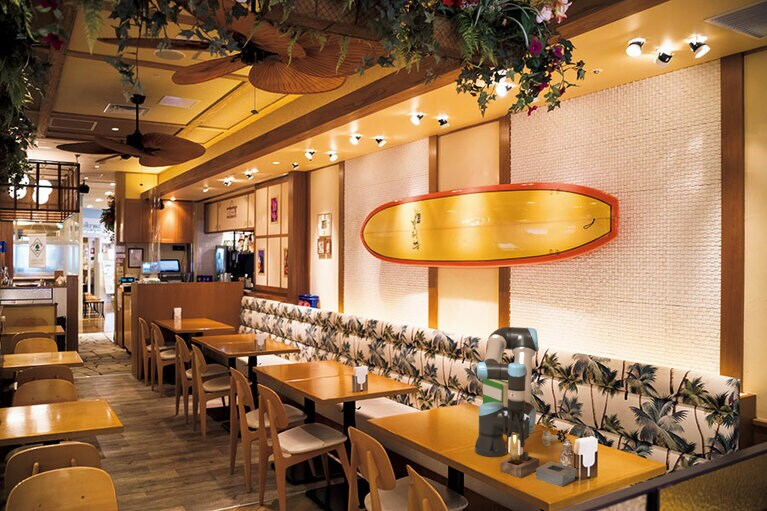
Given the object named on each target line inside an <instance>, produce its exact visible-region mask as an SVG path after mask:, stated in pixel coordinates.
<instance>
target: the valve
mask: <svg viewBox="0 0 767 511" xmlns="http://www.w3.org/2000/svg"><path fill="white" fill-rule="evenodd" d="M542 434H543V435H542V436H541V438H542V445H543V446H545V447H546V446H548V447H549V446H551V441H555V440H558V441H559V442H560V443H561V444H562V443H563V444H564V442H565V441H566V440H568V439H567V438H568V437H567V436H566V434H567V433H566V432H565V431H564V430H563V429H558V430H557V433H556V434H555V435H554V434H551V431H550V430H543V431H542Z"/></svg>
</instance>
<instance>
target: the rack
mask: <svg viewBox="0 0 767 511" xmlns="http://www.w3.org/2000/svg"><path fill="white" fill-rule="evenodd" d="M538 467H540V458H539V457H538V458H537V457H534V456H530V455H529V452H528V451H525V450H523V454H521V455H520V465H518V466H517V465H514V464H511V456H510V457H508V458H506V459H504V460H501V461H500V470H499V472H500V471H501V472H500V473H502V472H504V473H503V474H505V473H507V474H506V475H508V474H510V475H509V476H512V475H513V476H512V477H515V476H516V477H515V478H518V477H519V478H518V479H522V478H524V477H526V476H528V475H529V474H532V473H534V472H536V468H538ZM521 477H522V478H521Z"/></svg>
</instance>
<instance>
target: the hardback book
mask: <svg viewBox="0 0 767 511" xmlns="http://www.w3.org/2000/svg"><path fill="white" fill-rule="evenodd" d="M508 399H509V398H508V381H507V380H494V379H482V404H484V403H489V402H501V403H503V404H504V407H508Z"/></svg>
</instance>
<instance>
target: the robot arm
mask: <svg viewBox="0 0 767 511" xmlns="http://www.w3.org/2000/svg"><path fill="white" fill-rule="evenodd" d="M538 339H539V338H538V332H537V329H536V328H532V327H519V326H518V327H512V326H502V327H499V328H497V329H496V330H494V331H493V332H492V333H490V335H489V336H488V338H487V342H486V343H487V344H486V345H487V349H486V353H485V356H484V359H483V361H479V362H478V363H477V364H476V376H477V378H478V379H482V380H483V379H494V380H503V381H506V382H508V398H509V399H508V407H504V404H503V403H501V402H489V403H484V404H483V403H482V404H480V406H479V407H478V408H479V409H478V436H477V439H476V441H475V445H474V452H475V453H476V454H478V455H480V456H482V457H483V456H484V457H489V458H491V457H492V458H498V457H502V456H506V455H507V453H510V454H511V433H519V436H520V439H519V440H518V455H521V454H523V451H524V448H525V444H526V443H525V442H526V440H528V439H530V434H532V433H534V430H535V426H536V418H537V409H535V408H534V406H535V405H534V404H533V403H532V402H531V400H532V398H531V397H532V396H531V395H532V394H531V393H532V372H533V366H532V365H533V357H534V356H536V353H537V352H539V342H538V341H539V340H538ZM505 350H509V351H511V353H512V355H513V356H514V361H513V362H511V363H502V358H503V354H504V353H503V352H504V351H505ZM504 435H505V436H506V442H505V438H504ZM506 444H507V445H508V448H507V446H506ZM507 449H508V450H507ZM507 451H508V452H507Z"/></svg>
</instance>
